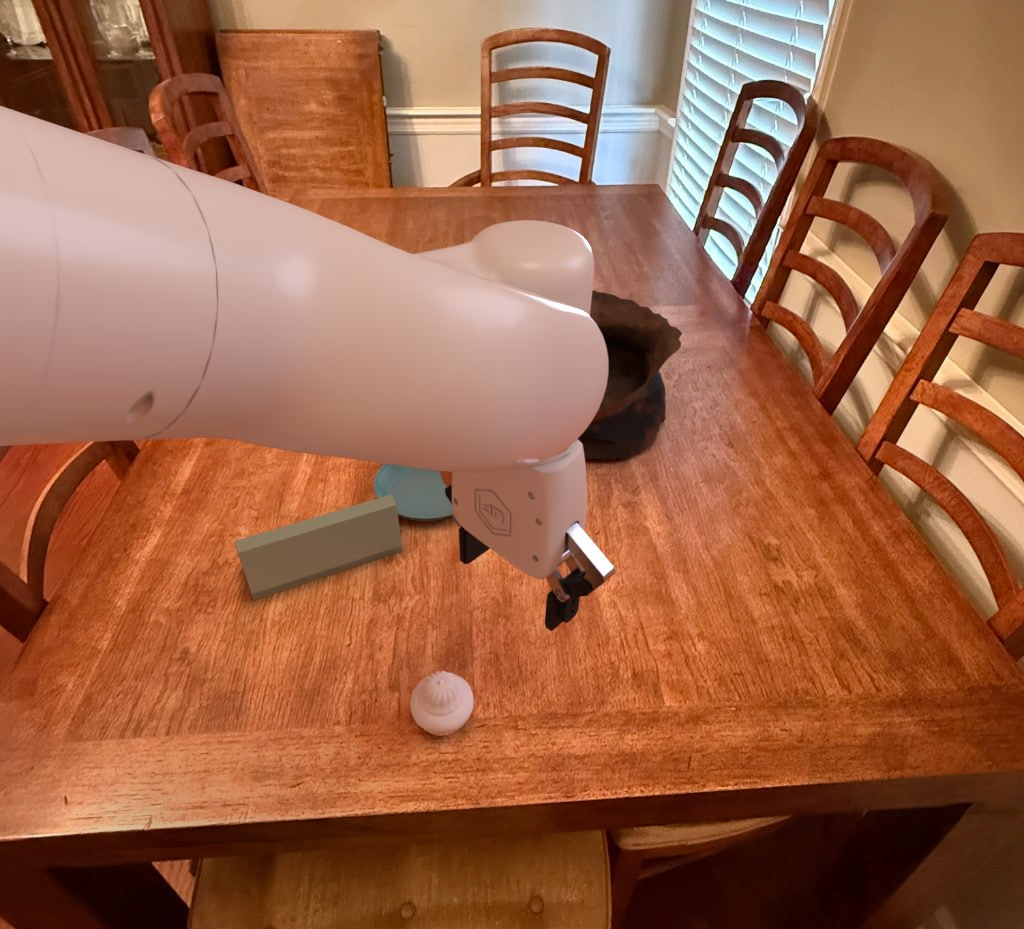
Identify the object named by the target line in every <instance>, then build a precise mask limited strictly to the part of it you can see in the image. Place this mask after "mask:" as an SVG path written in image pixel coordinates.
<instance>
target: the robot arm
mask: <svg viewBox="0 0 1024 929" xmlns="http://www.w3.org/2000/svg"><path fill="white" fill-rule="evenodd" d="M594 280H595V258H594V253H593V250H592V247H591V246H590V244H589V242H588V241H587V240H586V238H584V236H582V235H581V234H580V232H577V231H576V230H574V229H572V228H570V227H568V226H565V225H562V224H558V223H555V222H550V221H544V220H535V219H534V220H533V219H521V220H519V219H518V220H509V221H503V222H499V223H495V224H492V225H490V226H487V227H485V228H484V229H482V230H481V231H479V232H478V233H477V234H476V235H474V236H473V237H472V239H471V240H470V241H468V242H464V243H460V244H457V245H453V246H452V245H451V246H448V247H443V248H437V249H432V250H428V251H423V252H416V253H411V252H408V251H406V250H403V249H400V248H397V247H395V246H394V245H390V244H389V243H386V242H384V241H382V240H378V239H376V238H374V237H372V236H370V235H367V234H365V233H363V232H361V231H359V230H356V229H354V228H353V227H350V226H347V225H345V224H343V223H340V222H337V221H335V220H333V219H330V218H328V217H325V216H323V215H320V214H318V213H316V212H313V211H311V210H309V209H306V208H304V207H300V206H299V205H295V204H292V203H290V202H287V201H284V200H281V199H280V198H279V199H278V198H276V197H273V196H271V195H267V194H265V193H262V192H260V191H257V190H254V189H251V188H249V187H246V186H243V185H240V184H238V183H235V182H232V181H228V180H226V179H223V178H219V177H216V176H213V175H210V174H207V173H204V172H201V171H198V170H194V169H191V168H188V167H185V166H182V165H180V164H177V163H173V162H171V161H167V160H164V159H162V158H158V157H156V156H152V155H149V154H146V153H142V152H139V151H137V150H134V149H131V148H127V147H124V146H121V145H118V144H117V143H113V142H110V141H107V140H103V139H101V138H98V137H95V136H91V135H90V134H86V133H83V132H80V131H77V130H73V129H71V128H68V127H66V126H65V127H64V126H62V125H58V124H56V123H53V122H50V121H47V120H44V119H41V118H38V117H35V116H32V115H29V114H26V113H23V112H20V111H17V110H14V109H11V108H8V107H5V106H2V105H0V447H7V446H8V447H9V446H11V447H12V446H32V445H51V444H53V445H54V444H55V445H56V444H73V443H74V444H75V443H77V444H78V443H98V442H118V441H132V442H133V441H134V442H135V441H153V440H154V441H155V440H156V441H157V440H179V439H180V440H181V439H184V440H185V439H223V440H224V439H225V440H229V441H230V440H231V441H236V442H237V441H238V442H241V443H242V442H243V443H247V444H250V445H256V446H260V447H266V448H271V449H276V450H283V451H288V452H293V453H298V454H299V453H300V454H307V455H315V456H324V457H333V458H341V459H348V460H356V461H357V460H358V461H363V462H364V461H365V462H370V463H371V462H372V463H378V464H391V465H399V466H405V467H412V468H420V469H428V470H436V471H439V472H440V474H441V477H442V479H443V482H444V484H446V486H447V488H445V494H446V497H447V498H448V499H449V501H450V503H451V504H452V509H453V516H452V519H453V522H454V523H455V524H456V525H457V526H459V527H460V528H458V544H459V561H460V562H461V563H463V565H470V564H471V563H472V562H474V561H475V560H476V559H478V558H479V557H481V556H482V555H483V554H485V553H486V552H487V551H489V550H492V551H493V552H494V553H495V554H497V555H498V556H500V557H501V558H502V559H504V560H505V561H506V562H508V563H509V564H511V565H512V566H513V567H515V568H516V569H518V570H519V571H520V572H522V573H524V574H526V575H527V576H528V577H531V578H534V579H538V580H544V579H546V581H547V583H548V584H549V586H550V588H551V590H550V591H549V592H548V593H547V595H546V599H545V612H544V615H545V616H544V626H545V628H546V629H547V630H548V631H550V632H552V631H554V630H555V629H556V628H558V627H559V626H560V625H561V624H562V623H565V624H568V623H569V622H570V621H572V620H573V619H574V618H575V617H576V615H577V614H578V612H579V607H580V599H581V598H582V597H588V596H589V595H590V594H592V592H594V591H595V590H597V589H598V588H599V587H601V586H602V585H603V584H604V583H606V582H607V581H608V580H609V579H610V578H612V577H613V576H614V575H615V574H616V569H615V566H614V565H613V564H612V563H611V561H609V560H610V559H608V558H607V556H605V554H604V553H603V552H602V551H601V549H600V548H599V547H598V546H597V544H596V543H595V542H594V541H593V540H592V538H591V537H590V536H589V535H588V534H587V533H586V526H587V525H586V523H587V512H588V511H587V510H588V509H587V508H588V482H587V467H586V459H585V457H584V450H583V444H582V443H581V442H580V441H579V440H578V438H579V437H580V436H581V434H582V433H583V432H584V431H585V430H586V428H587V427H588V426H589V424H590V423H591V422H592V420H593V418H594V417H595V415H596V413H597V411H598V409H599V407H600V404H601V402H602V400H603V397H604V393H605V390H606V386H607V379H608V354H607V347H606V344H605V341H604V338H603V335H602V333H601V331H600V329H599V328H598V326H597V324H596V323H595V322H594V320H593V319H592V318H591V317H590V309H591V299H592V290H594ZM564 562H565V564H566V565H567V568H568V570H569V573H568V574H567V575H566V576H564V577H563V576H562V574H561V572H560V569H559V567H560V566H561V565H562V564H564Z"/></svg>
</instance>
